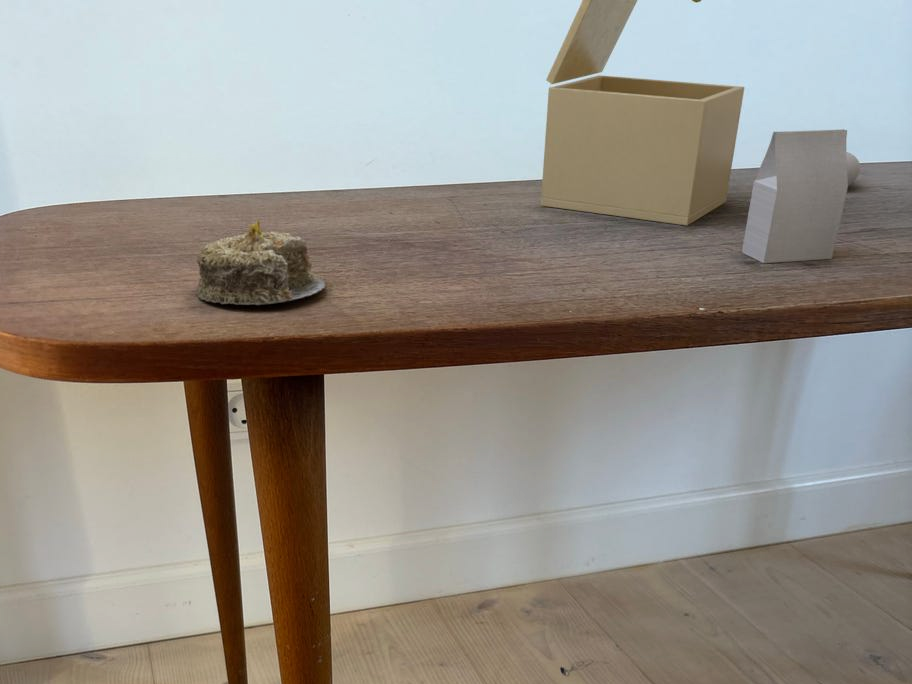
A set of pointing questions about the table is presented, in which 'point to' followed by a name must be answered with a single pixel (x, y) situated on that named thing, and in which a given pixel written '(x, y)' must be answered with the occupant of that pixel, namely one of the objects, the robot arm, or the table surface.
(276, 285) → the cake
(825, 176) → the grey upright tapered block
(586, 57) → the box lid
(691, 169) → the tan open box
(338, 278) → the table surface
